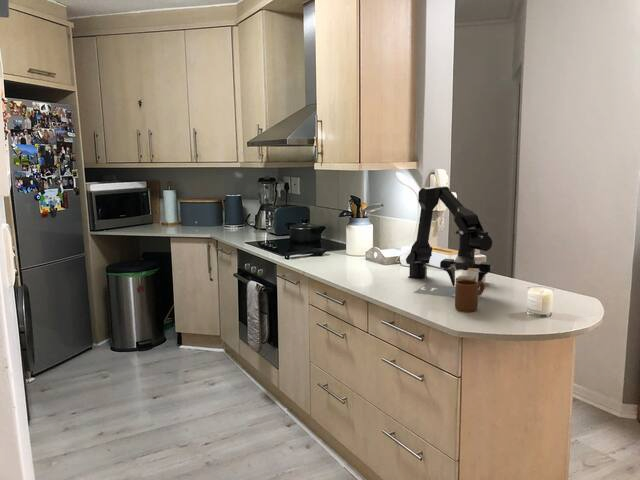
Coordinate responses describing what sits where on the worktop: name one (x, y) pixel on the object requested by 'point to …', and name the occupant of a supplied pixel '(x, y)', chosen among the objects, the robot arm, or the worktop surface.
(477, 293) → the mug
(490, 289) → the worktop surface
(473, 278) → the walnut cube
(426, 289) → the mat
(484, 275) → the robot arm
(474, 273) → the ink box
